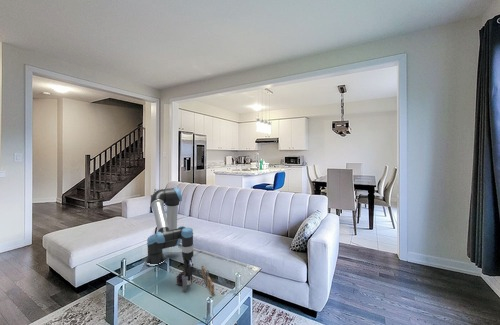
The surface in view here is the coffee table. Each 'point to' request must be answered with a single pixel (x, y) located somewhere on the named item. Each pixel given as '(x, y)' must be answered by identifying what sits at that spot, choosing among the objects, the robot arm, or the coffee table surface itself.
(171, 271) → the coffee table surface
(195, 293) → the coffee table surface
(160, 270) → the coffee table surface
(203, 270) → the gate
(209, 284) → the fence
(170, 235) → the robot arm
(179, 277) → the rock
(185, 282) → the posts
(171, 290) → the coffee table surface
